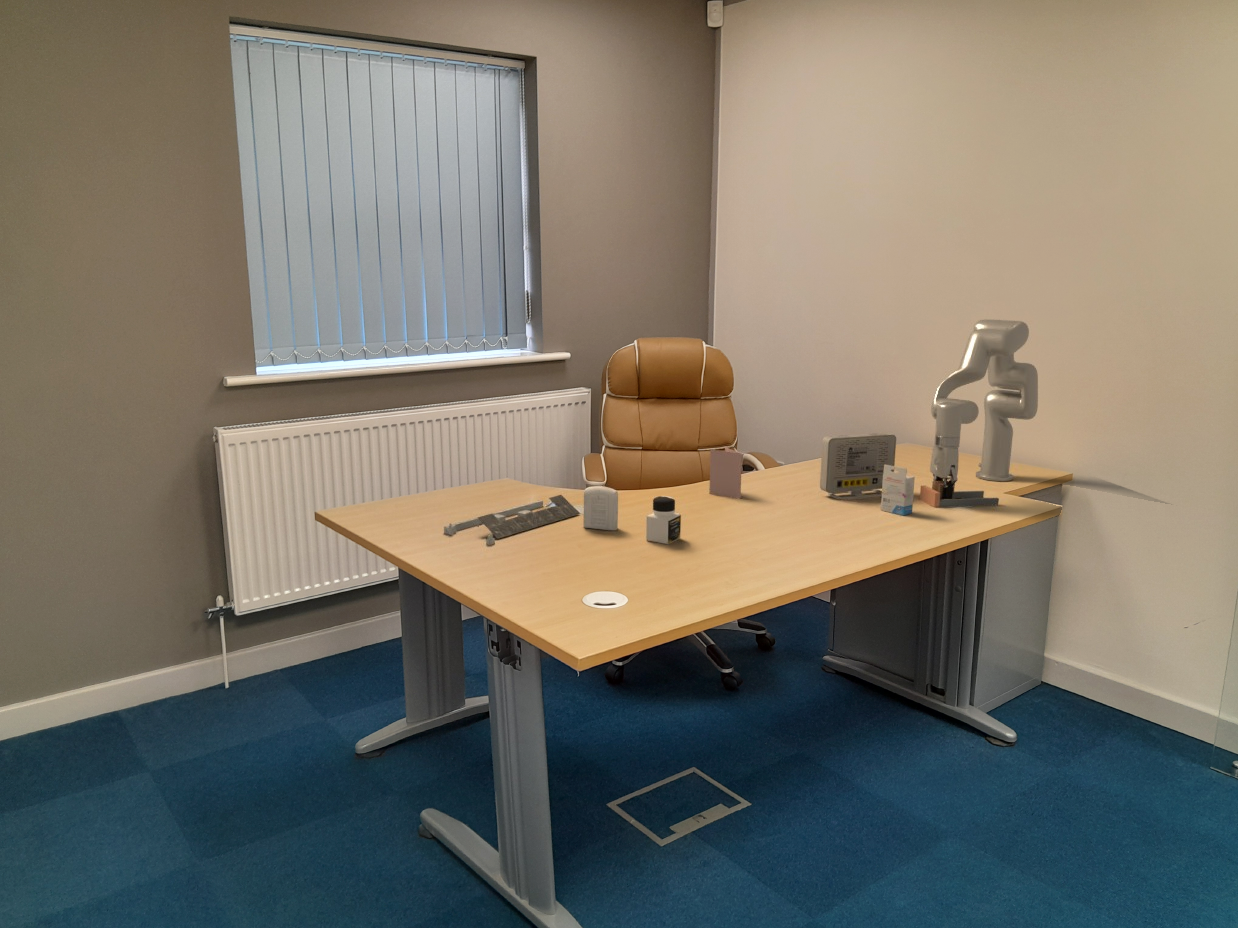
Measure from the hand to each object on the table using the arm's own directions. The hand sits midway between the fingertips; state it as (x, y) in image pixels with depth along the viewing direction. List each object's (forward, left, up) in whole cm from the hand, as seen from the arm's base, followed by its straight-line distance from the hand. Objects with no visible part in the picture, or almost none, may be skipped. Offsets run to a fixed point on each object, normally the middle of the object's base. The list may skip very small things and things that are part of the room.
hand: (942, 496), depth 297 cm
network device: (-13, -24, -2) cm, 27 cm away
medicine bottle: (+29, -97, -2) cm, 101 cm away
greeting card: (-17, -68, -2) cm, 70 cm away
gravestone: (+16, -113, -2) cm, 114 cm away
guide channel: (0, +6, -2) cm, 7 cm away
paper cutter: (+8, -135, -3) cm, 135 cm away
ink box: (+9, -20, -2) cm, 22 cm away
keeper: (0, 0, -2) cm, 2 cm away
